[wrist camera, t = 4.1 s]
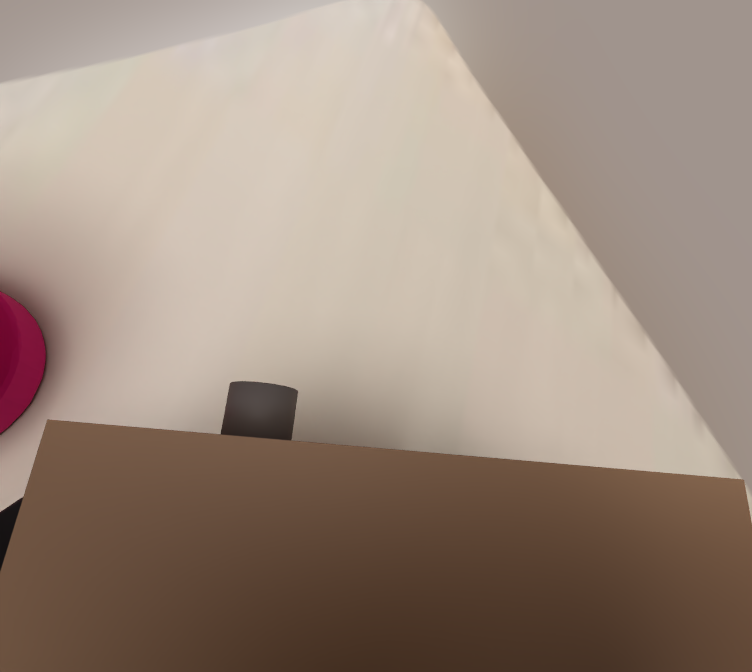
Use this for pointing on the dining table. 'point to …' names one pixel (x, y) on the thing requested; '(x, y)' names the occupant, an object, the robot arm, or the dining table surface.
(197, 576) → the door
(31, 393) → the pepper mill
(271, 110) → the dining table surface
